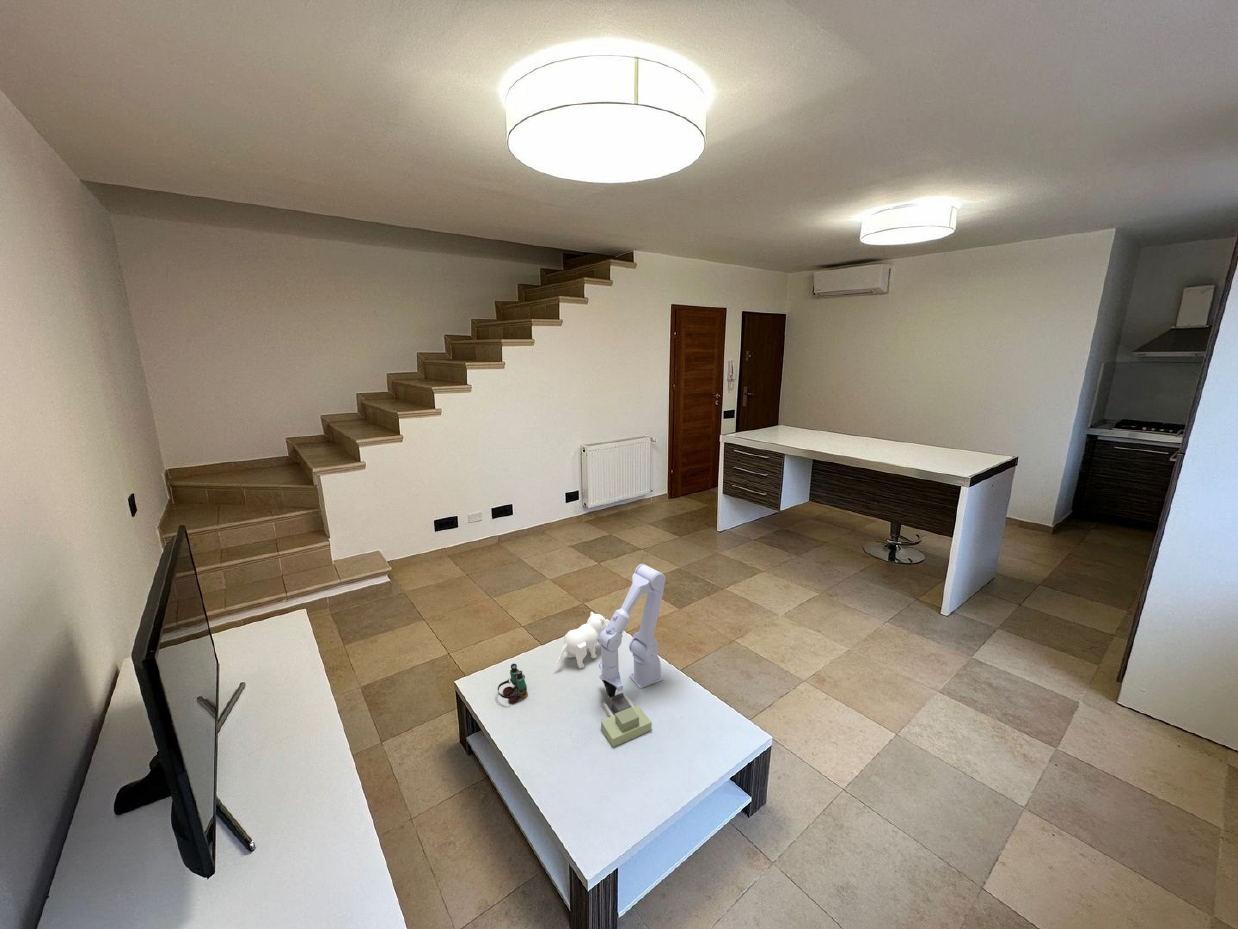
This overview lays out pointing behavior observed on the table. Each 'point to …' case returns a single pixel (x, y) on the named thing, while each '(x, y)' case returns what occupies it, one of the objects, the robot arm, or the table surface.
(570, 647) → the cat figurine
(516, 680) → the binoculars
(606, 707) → the green post base
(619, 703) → the grey overhanging lid block
